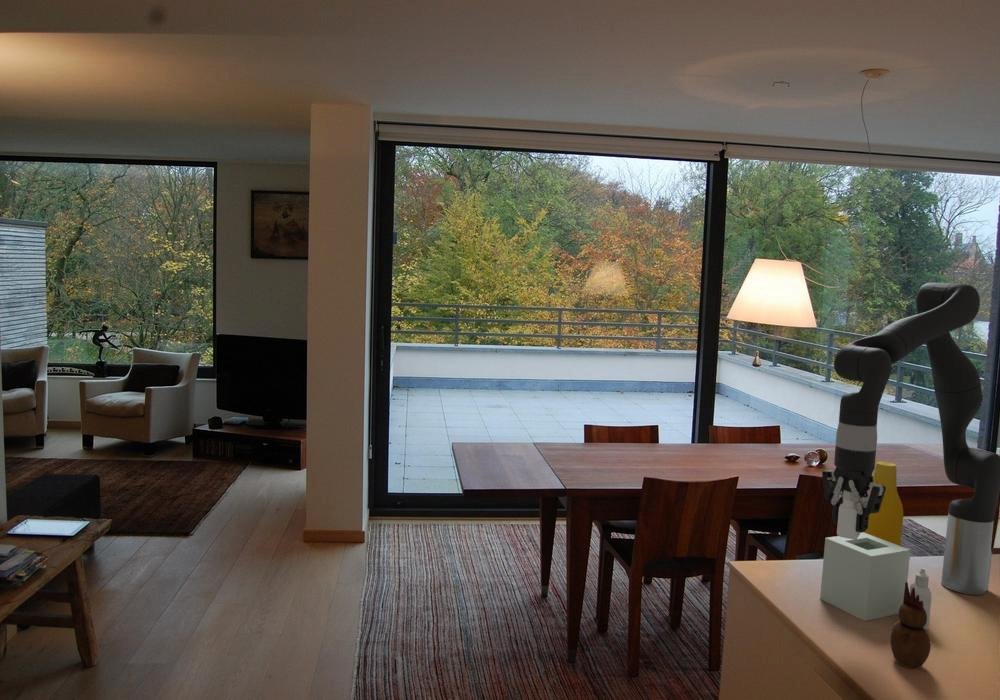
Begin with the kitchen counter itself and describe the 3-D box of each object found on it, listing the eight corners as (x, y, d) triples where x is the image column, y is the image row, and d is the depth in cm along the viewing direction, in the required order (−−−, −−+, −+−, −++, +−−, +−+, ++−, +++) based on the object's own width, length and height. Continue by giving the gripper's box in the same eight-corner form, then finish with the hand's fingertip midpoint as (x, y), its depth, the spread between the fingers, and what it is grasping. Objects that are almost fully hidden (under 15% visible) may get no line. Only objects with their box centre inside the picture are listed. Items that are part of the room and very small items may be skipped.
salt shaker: (860, 535, 163) (864, 490, 162) (857, 541, 159) (861, 494, 158) (839, 531, 165) (843, 486, 164) (836, 536, 161) (839, 491, 160)
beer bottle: (846, 582, 188) (857, 462, 185) (863, 573, 195) (874, 457, 192) (886, 595, 182) (898, 470, 179) (903, 585, 188) (914, 465, 185)
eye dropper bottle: (930, 622, 167) (936, 567, 166) (927, 631, 163) (933, 575, 162) (907, 616, 170) (913, 562, 169) (903, 625, 165) (909, 570, 164)
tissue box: (858, 591, 183) (863, 532, 181) (904, 612, 172) (910, 549, 171) (820, 598, 178) (825, 537, 176) (865, 620, 167) (871, 556, 165)
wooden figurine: (882, 654, 152) (890, 578, 150) (911, 654, 152) (919, 579, 151) (903, 672, 145) (911, 593, 144) (933, 672, 146) (941, 593, 144)
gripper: (900, 452, 155) (892, 536, 157) (840, 436, 168) (833, 515, 170) (873, 454, 152) (865, 540, 154) (814, 439, 165) (808, 518, 167)
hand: (849, 526), depth 162 cm, fingers closed on salt shaker, 5 cm apart
